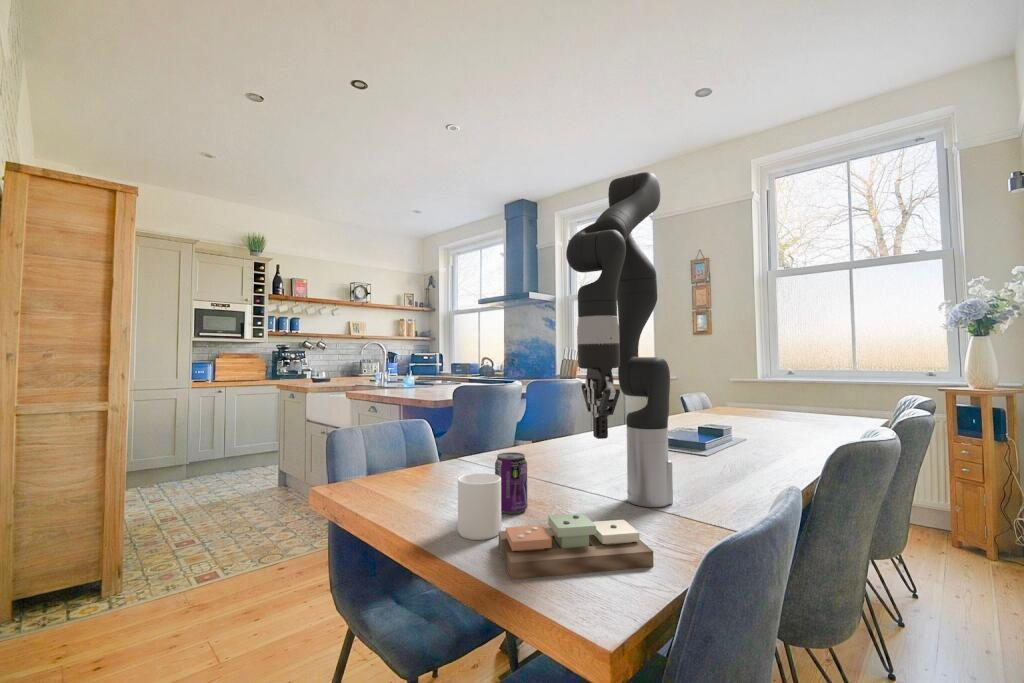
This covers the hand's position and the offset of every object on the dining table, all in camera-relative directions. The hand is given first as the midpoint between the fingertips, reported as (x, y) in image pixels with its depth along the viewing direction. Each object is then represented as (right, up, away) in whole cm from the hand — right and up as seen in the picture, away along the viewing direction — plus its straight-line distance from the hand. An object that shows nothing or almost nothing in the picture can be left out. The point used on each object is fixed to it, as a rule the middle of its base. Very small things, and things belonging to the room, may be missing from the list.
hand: (600, 437), depth 85 cm
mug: (-22, -19, +7) cm, 30 cm away
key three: (-13, -18, -7) cm, 24 cm away
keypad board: (-6, -19, -6) cm, 20 cm away
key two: (-6, -17, -6) cm, 19 cm away
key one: (+1, -18, -4) cm, 19 cm away
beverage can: (-16, -20, +18) cm, 31 cm away
